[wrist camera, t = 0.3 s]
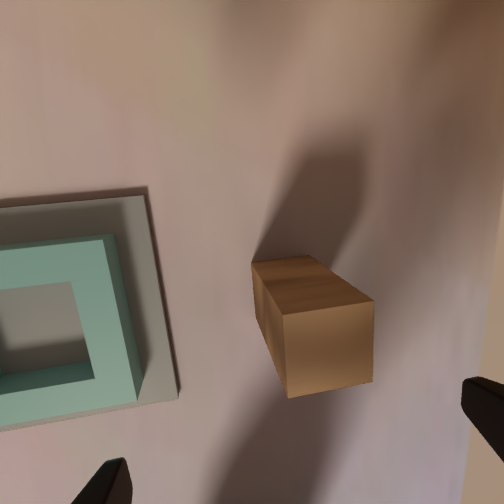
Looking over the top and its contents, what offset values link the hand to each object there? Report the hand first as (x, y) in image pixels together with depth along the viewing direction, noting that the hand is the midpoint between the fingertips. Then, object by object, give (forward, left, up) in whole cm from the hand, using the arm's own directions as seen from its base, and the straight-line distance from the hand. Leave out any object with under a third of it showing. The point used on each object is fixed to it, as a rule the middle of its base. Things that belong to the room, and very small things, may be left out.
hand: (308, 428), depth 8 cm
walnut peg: (-1, -3, -13) cm, 13 cm away
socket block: (-1, +12, -13) cm, 18 cm away
